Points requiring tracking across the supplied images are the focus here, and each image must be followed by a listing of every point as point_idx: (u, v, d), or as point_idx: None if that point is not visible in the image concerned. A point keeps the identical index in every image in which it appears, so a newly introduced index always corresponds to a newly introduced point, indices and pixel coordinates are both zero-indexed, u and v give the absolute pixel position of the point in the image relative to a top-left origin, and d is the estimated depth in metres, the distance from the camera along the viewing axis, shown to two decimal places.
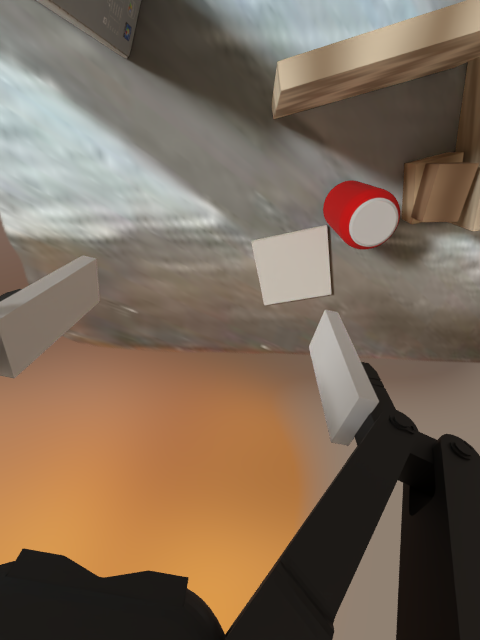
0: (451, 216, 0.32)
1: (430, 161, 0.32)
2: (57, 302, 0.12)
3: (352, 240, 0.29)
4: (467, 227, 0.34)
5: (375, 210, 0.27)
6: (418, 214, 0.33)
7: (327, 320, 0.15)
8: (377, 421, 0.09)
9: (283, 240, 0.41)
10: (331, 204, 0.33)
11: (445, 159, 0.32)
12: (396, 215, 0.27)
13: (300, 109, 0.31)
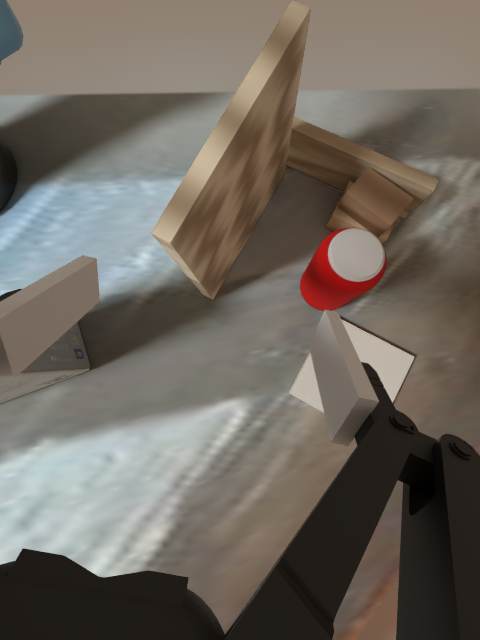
0: (404, 201, 0.29)
1: (338, 205, 0.33)
2: (57, 302, 0.12)
3: (360, 282, 0.23)
4: (425, 196, 0.31)
5: (343, 246, 0.23)
6: (380, 227, 0.31)
7: (327, 320, 0.15)
8: (377, 421, 0.09)
9: None
10: (311, 292, 0.30)
11: None
12: (364, 230, 0.23)
13: (221, 274, 0.33)
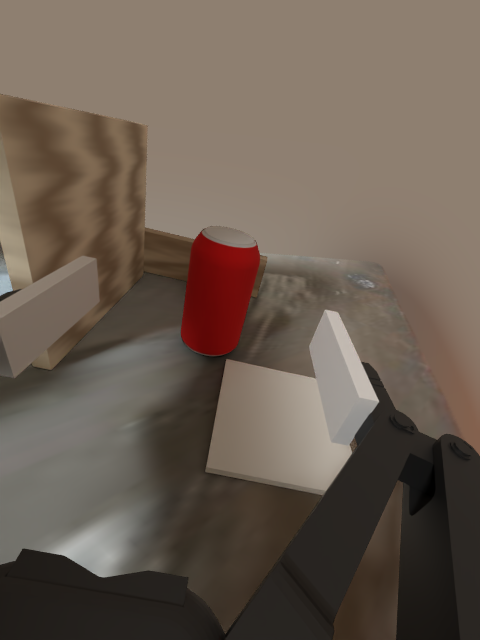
0: None
1: None
2: (57, 302, 0.12)
3: (243, 249, 0.22)
4: (263, 267, 0.39)
5: (215, 230, 0.23)
6: None
7: (327, 320, 0.15)
8: (377, 421, 0.09)
9: (226, 411, 0.22)
10: (196, 314, 0.25)
11: None
12: (228, 228, 0.25)
13: None
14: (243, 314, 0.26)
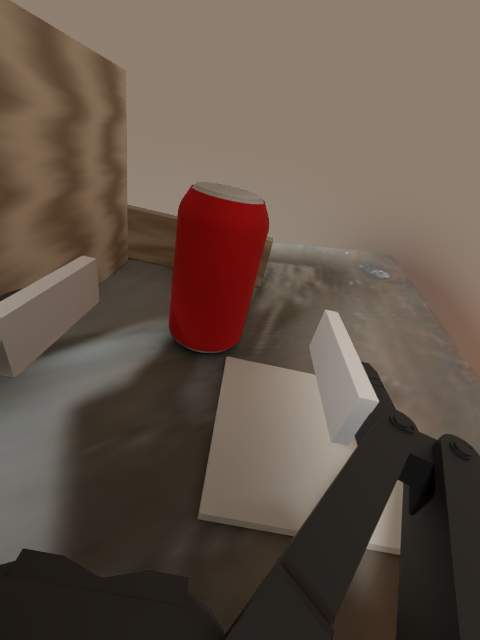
0: None
1: None
2: (57, 302, 0.12)
3: (247, 206, 0.16)
4: (268, 250, 0.33)
5: (210, 185, 0.18)
6: None
7: (327, 320, 0.15)
8: (377, 421, 0.09)
9: (228, 426, 0.16)
10: (187, 297, 0.19)
11: None
12: (227, 186, 0.20)
13: None
14: (247, 298, 0.20)
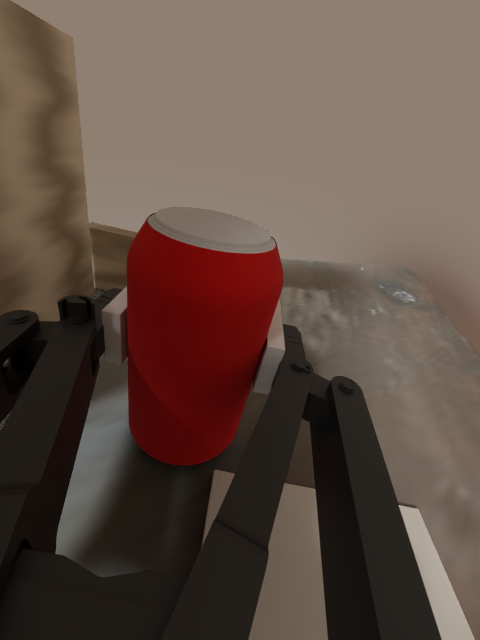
0: None
1: None
2: None
3: (246, 259, 0.09)
4: None
5: (182, 215, 0.10)
6: None
7: None
8: (281, 370, 0.10)
9: None
10: (146, 396, 0.11)
11: None
12: (214, 212, 0.12)
13: None
14: (247, 389, 0.13)
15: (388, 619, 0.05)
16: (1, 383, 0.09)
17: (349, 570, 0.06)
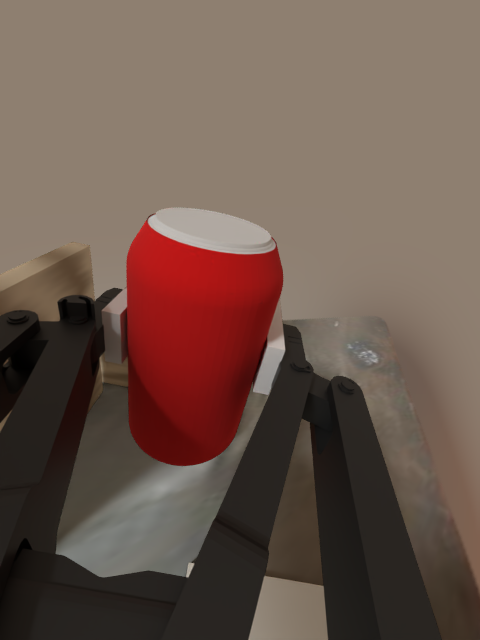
0: None
1: None
2: None
3: (246, 259, 0.09)
4: None
5: (182, 215, 0.10)
6: None
7: None
8: (281, 370, 0.10)
9: None
10: (146, 397, 0.11)
11: None
12: (214, 213, 0.12)
13: None
14: (247, 389, 0.13)
15: (388, 619, 0.05)
16: (1, 383, 0.09)
17: (349, 570, 0.06)
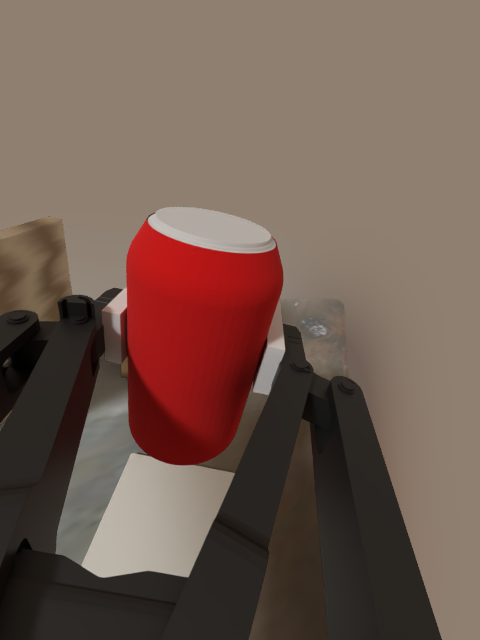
0: None
1: None
2: None
3: (246, 258, 0.09)
4: None
5: (182, 215, 0.10)
6: None
7: None
8: (281, 370, 0.10)
9: (109, 525, 0.23)
10: (146, 396, 0.11)
11: None
12: (214, 212, 0.12)
13: None
14: (247, 389, 0.13)
15: (388, 619, 0.05)
16: (1, 383, 0.09)
17: (349, 570, 0.06)
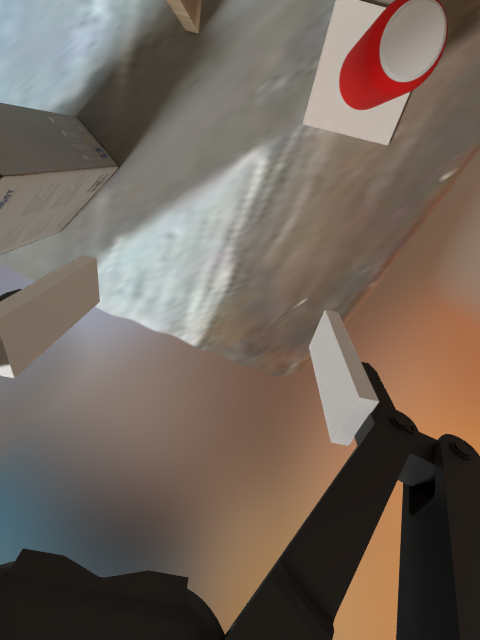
0: None
1: None
2: (57, 302, 0.12)
3: (414, 80, 0.22)
4: None
5: (398, 35, 0.21)
6: None
7: (327, 320, 0.15)
8: (377, 421, 0.09)
9: (323, 76, 0.31)
10: (355, 96, 0.28)
11: None
12: (424, 0, 0.20)
13: None
14: None
15: None
16: None
17: None
